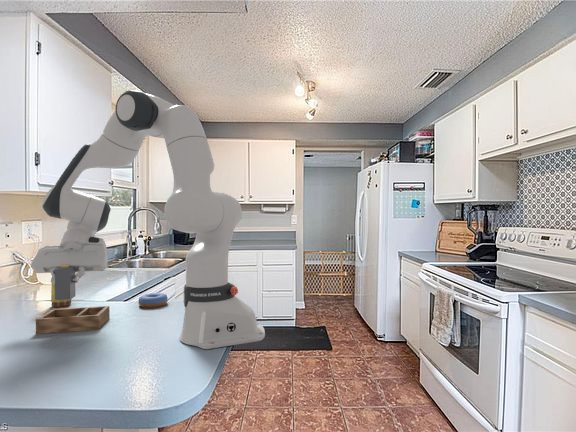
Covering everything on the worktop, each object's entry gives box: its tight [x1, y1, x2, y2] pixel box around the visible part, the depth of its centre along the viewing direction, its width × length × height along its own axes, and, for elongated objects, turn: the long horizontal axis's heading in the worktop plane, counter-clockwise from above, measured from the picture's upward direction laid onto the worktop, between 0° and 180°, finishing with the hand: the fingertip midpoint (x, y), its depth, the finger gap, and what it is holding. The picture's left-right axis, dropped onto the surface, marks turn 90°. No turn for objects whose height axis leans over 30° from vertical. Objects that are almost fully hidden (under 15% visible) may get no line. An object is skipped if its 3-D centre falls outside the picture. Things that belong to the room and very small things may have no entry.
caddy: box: [35, 305, 111, 335], centre depth 105 cm, size 16×11×4 cm
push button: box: [55, 264, 76, 300], centre depth 104 cm, size 4×4×10 cm
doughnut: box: [138, 292, 168, 309], centre depth 128 cm, size 10×10×5 cm
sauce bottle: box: [50, 283, 73, 308], centre depth 128 cm, size 7×6×20 cm
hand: (64, 282), depth 103 cm, fingers closed on push button, 4 cm apart
